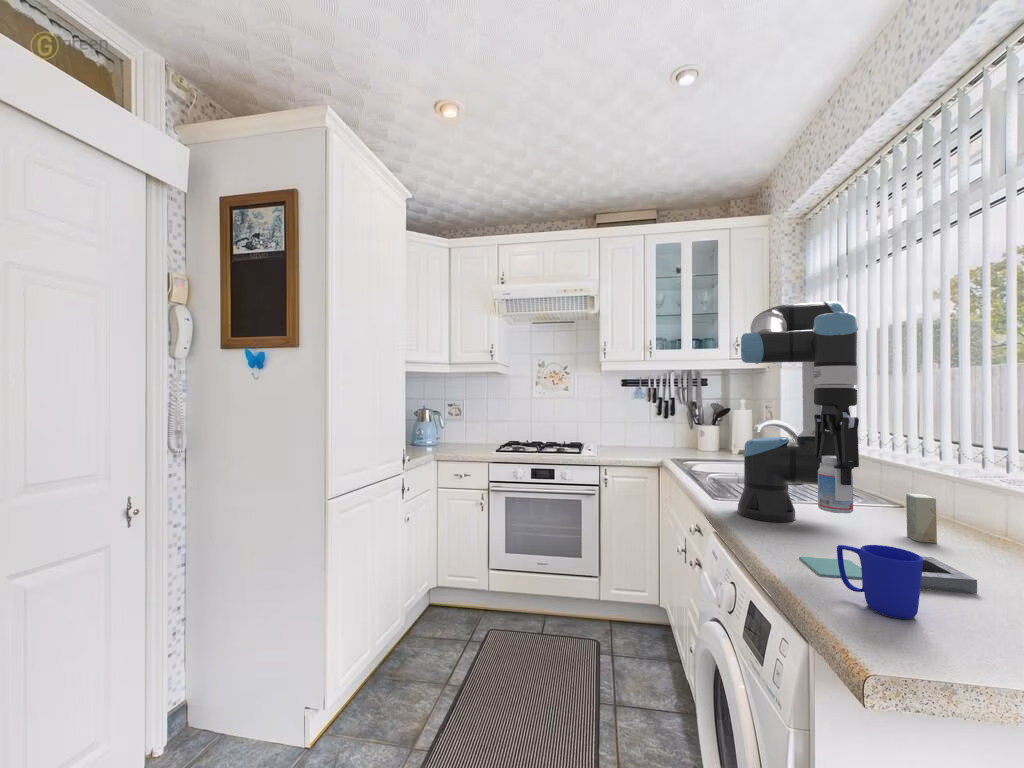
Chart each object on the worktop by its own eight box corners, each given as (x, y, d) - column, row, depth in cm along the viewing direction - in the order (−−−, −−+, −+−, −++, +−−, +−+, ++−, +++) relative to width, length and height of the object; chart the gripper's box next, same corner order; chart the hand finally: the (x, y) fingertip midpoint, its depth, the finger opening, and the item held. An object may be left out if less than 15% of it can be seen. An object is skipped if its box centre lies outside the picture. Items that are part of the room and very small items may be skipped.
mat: (799, 558, 103) (799, 556, 103) (849, 561, 101) (849, 559, 101) (819, 576, 93) (819, 574, 93) (876, 580, 92) (876, 578, 92)
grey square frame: (867, 564, 100) (867, 552, 100) (931, 569, 98) (931, 557, 98) (903, 587, 88) (903, 574, 88) (977, 593, 86) (977, 580, 86)
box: (937, 543, 114) (937, 498, 114) (916, 541, 115) (915, 497, 115) (926, 537, 119) (925, 494, 119) (905, 535, 120) (905, 492, 120)
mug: (847, 589, 87) (847, 535, 87) (931, 615, 77) (930, 555, 77) (826, 599, 83) (826, 543, 83) (912, 629, 73) (912, 565, 73)
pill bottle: (859, 515, 94) (859, 459, 94) (825, 513, 95) (825, 458, 95) (844, 507, 100) (844, 455, 100) (812, 506, 101) (812, 454, 101)
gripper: (796, 387, 108) (796, 486, 108) (837, 386, 89) (838, 506, 89) (832, 387, 106) (832, 488, 106) (881, 386, 88) (882, 509, 87)
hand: (835, 496), depth 98 cm, fingers closed on pill bottle, 6 cm apart
